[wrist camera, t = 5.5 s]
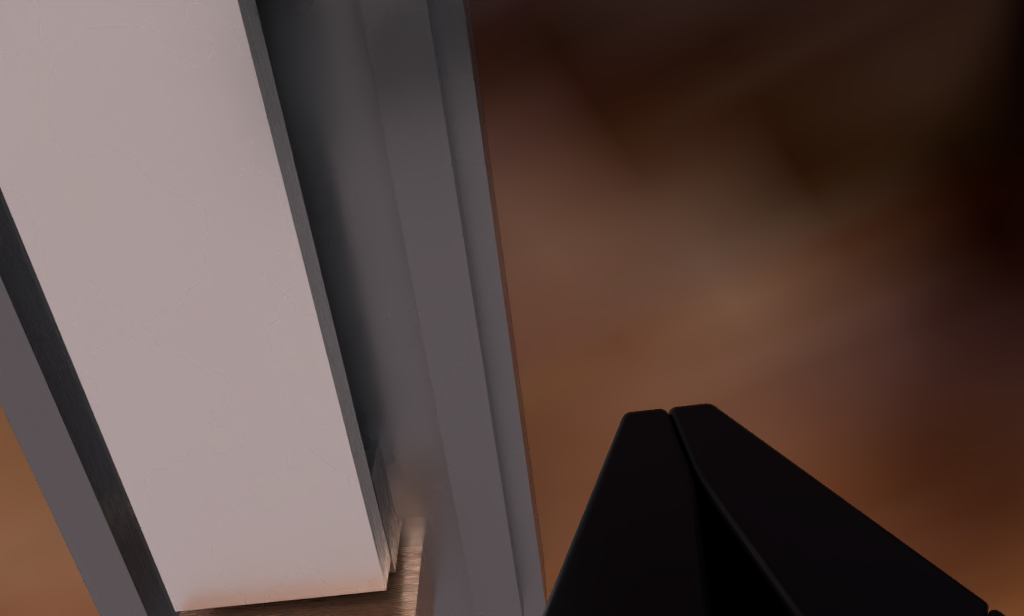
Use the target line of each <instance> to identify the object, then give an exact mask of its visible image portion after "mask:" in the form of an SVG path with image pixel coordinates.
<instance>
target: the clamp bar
mask: <svg viewBox="0 0 1024 616" xmlns="http://www.w3.org/2000/svg"><path fill="white" fill-rule="evenodd" d="M0 188H1V190H2V193H3V195H4V198H5V200H6V202H7V205H8V207H9V210H10V212H11V215H12V217H13V219H14V222H15V224H16V227H17V229H18V232H19V234H20V236H21V239H22V241H23V244H24V246H25V248H26V251H27V253H28V256H29V258H30V261H31V263H32V265H33V268H34V270H35V273H36V275H37V278H38V280H39V282H40V285H41V287H42V290H43V292H44V295H45V297H46V299H47V302H48V304H49V307H50V309H51V311H52V314H53V316H54V319H55V321H56V324H57V326H58V328H59V331H60V333H61V336H62V338H63V341H64V343H65V345H66V348H67V350H68V353H69V355H70V358H71V360H72V362H73V365H74V367H75V370H76V372H77V374H78V377H79V379H80V382H81V384H82V387H83V389H84V391H85V394H86V396H87V399H88V401H89V404H90V406H91V408H92V411H93V413H94V416H95V418H96V421H97V423H98V425H99V428H100V430H101V433H102V435H103V437H104V440H105V442H106V445H107V447H108V450H109V452H110V454H111V457H112V459H113V462H114V464H115V467H116V469H117V471H118V474H119V476H120V479H121V481H122V484H123V486H124V488H125V491H126V493H127V496H128V498H129V500H130V503H131V505H132V508H133V510H134V513H135V515H136V517H137V520H138V522H139V525H140V527H141V530H142V532H143V534H144V537H145V539H146V542H147V544H148V547H149V549H150V551H151V554H152V556H153V559H154V561H155V564H156V566H157V568H158V571H159V573H160V576H161V578H162V580H163V583H164V585H165V588H166V590H167V593H168V595H169V597H170V600H171V602H172V605H173V607H174V610H175V612H177V611H187V610H197V609H206V608H216V607H226V606H236V605H246V604H256V603H265V602H275V601H285V600H295V599H305V598H315V597H324V596H334V595H344V594H354V593H364V592H374V591H383V590H386V588H387V581H388V575H389V568H390V561H391V558H390V554H389V550H388V546H387V541H386V537H385V533H384V529H383V525H382V521H381V517H380V513H379V509H378V504H377V500H376V496H375V492H374V488H373V484H372V480H371V476H370V472H369V467H368V463H367V459H366V455H365V451H364V447H363V443H362V439H361V435H360V430H359V426H358V422H357V418H356V414H355V410H354V406H353V402H352V397H351V393H350V389H349V385H348V381H347V377H346V373H345V369H344V365H343V360H342V356H341V352H340V348H339V344H338V340H337V336H336V332H335V328H334V323H333V319H332V315H331V311H330V307H329V303H328V299H327V295H326V291H325V286H324V282H323V278H322V274H321V270H320V266H319V262H318V258H317V254H316V249H315V245H314V241H313V237H312V233H311V229H310V225H309V221H308V216H307V212H306V208H305V204H304V200H303V196H302V192H301V188H300V184H299V179H298V175H297V171H296V167H295V163H294V159H293V155H292V151H291V147H290V142H289V138H288V134H287V130H286V126H285V122H284V118H283V114H282V110H281V105H280V101H279V97H278V93H277V89H276V85H275V81H274V77H273V72H272V68H271V64H270V60H269V56H268V52H267V48H266V44H265V40H264V35H263V31H262V27H261V23H260V19H259V15H258V11H257V7H256V3H255V0H0Z"/></svg>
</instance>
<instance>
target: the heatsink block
mask: <svg viewBox="0 0 1024 616" xmlns="http://www.w3.org/2000/svg"><path fill="white" fill-rule="evenodd" d="M255 3H256V7H257V11H258V15H259V19H260V23H261V27H262V31H263V35H264V40H265V44H266V48H267V52H268V56H269V60H270V64H271V68H272V72H273V77H274V81H275V85H276V89H277V93H278V97H279V101H280V105H281V110H282V114H283V118H284V122H285V126H286V130H287V134H288V138H289V142H290V147H291V151H292V155H293V159H294V163H295V167H296V171H297V175H298V179H299V184H300V188H301V192H302V196H303V200H304V204H305V208H306V212H307V216H308V221H309V225H310V229H311V233H312V237H313V241H314V245H315V249H316V254H317V258H318V262H319V266H320V270H321V274H322V278H323V282H324V286H325V291H326V295H327V299H328V303H329V307H330V311H331V315H332V319H333V323H334V328H335V332H336V336H337V340H338V344H339V348H340V352H341V356H342V360H343V365H344V369H345V373H346V377H347V381H348V385H349V389H350V393H351V397H352V402H353V406H354V410H355V414H356V418H357V422H358V426H359V430H360V435H361V439H362V443H363V447H364V451H365V455H366V459H367V463H368V467H369V472H370V476H371V480H372V484H373V488H374V492H375V496H376V500H377V504H378V509H379V513H380V517H381V521H382V525H383V529H384V533H385V537H386V541H387V546H388V550H389V554H390V558H391V561H390V568H389V575H388V581H387V588H386V590H383V591H374V592H364V593H354V594H344V595H334V596H324V597H315V598H305V599H295V600H285V601H275V602H265V603H256V604H246V605H236V606H226V607H216V608H206V609H197V610H187V611H177V612H175V610H174V607H173V605H172V602H171V600H170V597H169V595H168V593H167V590H166V588H165V585H164V583H163V580H162V578H161V576H160V573H159V571H158V568H157V566H156V564H155V561H154V559H153V556H152V554H151V551H150V549H149V547H148V544H147V542H146V539H145V537H144V534H143V532H142V530H141V527H140V525H139V522H138V520H137V517H136V515H135V513H134V510H133V508H132V505H131V503H130V500H129V498H128V496H127V493H126V491H125V488H124V486H123V484H122V481H121V479H120V476H119V474H118V471H117V469H116V467H115V464H114V462H113V459H112V457H111V454H110V452H109V450H108V447H107V445H106V442H105V440H104V437H103V435H102V433H101V430H100V428H99V425H98V423H97V421H96V418H95V416H94V413H93V411H92V408H91V406H90V404H89V401H88V399H87V396H86V394H85V391H84V389H83V387H82V384H81V382H80V379H79V377H78V374H77V372H76V370H75V367H74V365H73V362H72V360H71V358H70V355H69V353H68V350H67V348H66V345H65V343H64V341H63V338H62V336H61V333H60V331H59V328H58V326H57V324H56V321H55V319H54V316H53V314H52V311H51V309H50V307H49V304H48V302H47V299H46V297H45V295H44V292H43V290H42V287H41V285H40V282H39V280H38V278H37V275H36V273H35V270H34V268H33V265H32V263H31V261H30V258H29V256H28V253H27V251H26V248H25V246H24V244H23V241H22V239H21V236H20V234H19V232H18V229H17V227H16V224H15V222H14V219H13V217H12V215H11V212H10V210H9V207H8V205H7V202H6V200H5V198H4V195H3V193H2V190H1V188H0V403H1V406H2V408H3V410H4V412H5V414H6V416H7V418H8V420H9V423H10V425H11V427H12V429H13V431H14V433H15V435H16V438H17V440H18V442H19V444H20V446H21V448H22V450H23V452H24V455H25V457H26V459H27V461H28V463H29V465H30V467H31V470H32V472H33V474H34V476H35V478H36V480H37V482H38V484H39V487H40V489H41V491H42V493H43V495H44V497H45V499H46V502H47V504H48V506H49V508H50V510H51V512H52V514H53V516H54V519H55V521H56V523H57V525H58V527H59V529H60V531H61V534H62V536H63V538H64V540H65V542H66V544H67V546H68V548H69V551H70V553H71V555H72V557H73V559H74V561H75V563H76V565H77V568H78V570H79V572H80V574H81V576H82V578H83V580H84V583H85V585H86V587H87V589H88V591H89V593H90V595H91V597H92V600H93V602H94V604H95V606H96V608H97V610H98V612H99V615H100V616H542V615H543V612H544V610H545V607H546V605H547V596H546V582H545V568H544V559H543V551H542V544H541V536H540V529H539V521H538V514H537V506H536V499H535V492H534V484H533V477H532V469H531V462H530V454H529V447H528V439H527V432H526V424H525V417H524V409H523V402H522V394H521V387H520V379H519V372H518V364H517V357H516V349H515V342H514V335H513V327H512V320H511V312H510V305H509V297H508V290H507V282H506V275H505V267H504V260H503V252H502V245H501V237H500V230H499V222H498V215H497V207H496V200H495V192H494V185H493V178H492V170H491V163H490V155H489V148H488V140H487V133H486V125H485V118H484V110H483V103H482V95H481V88H480V80H479V73H478V65H477V58H476V50H475V43H474V35H473V28H472V21H471V13H470V6H469V0H255Z"/></svg>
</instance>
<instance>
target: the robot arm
mask: <svg viewBox="0 0 1024 616" xmlns="http://www.w3.org/2000/svg"><path fill="white" fill-rule="evenodd" d="M988 612H989V606H988V604H987V603H986V602H985V601H984V600H982V599H981V598H979V597H978V596H977V595H975V594H974V593H973V592H971V591H970V590H968V589H967V588H966V587H964V586H963V585H961V584H960V583H959V582H957V581H956V580H955V579H953V578H952V577H950V576H949V575H948V574H946V573H945V572H944V571H942V570H941V569H939V568H938V567H937V566H935V565H934V564H932V563H931V562H930V561H928V560H927V559H926V558H924V557H923V556H921V555H920V554H919V553H917V552H916V551H914V550H913V549H912V548H910V547H909V546H908V545H906V544H905V543H903V542H902V541H901V540H899V539H898V538H896V537H895V536H894V535H892V534H891V533H890V532H888V531H887V530H885V529H884V528H883V527H881V526H880V525H879V524H877V523H876V522H874V521H873V520H872V519H870V518H869V517H867V516H866V515H865V514H863V513H862V512H861V511H859V510H858V509H856V508H855V507H854V506H852V505H851V504H849V503H848V502H847V501H845V500H844V499H843V498H841V497H840V496H838V495H837V494H836V493H834V492H833V491H832V490H830V489H829V488H827V487H826V486H825V485H823V484H822V483H820V482H819V481H818V480H816V479H815V478H814V477H812V476H811V475H809V474H808V473H807V472H805V471H804V470H802V469H801V468H800V467H798V466H797V465H796V464H794V463H793V462H791V461H790V460H789V459H787V458H786V457H784V456H783V455H782V454H780V453H779V452H778V451H776V450H775V449H773V448H772V447H771V446H769V445H768V444H767V443H765V442H764V441H762V440H761V439H760V438H758V437H757V436H755V435H754V434H753V433H751V432H750V431H749V430H747V429H746V428H744V427H743V426H742V425H740V424H739V423H737V422H736V421H735V420H733V419H732V418H731V417H729V416H728V415H726V414H725V413H724V412H722V411H721V410H719V409H718V408H717V407H715V406H714V405H711V404H698V405H689V406H681V407H674V408H672V409H671V410H670V411H669V414H668V413H667V412H666V411H665V410H663V409H654V410H645V411H636V412H629V413H626V414H625V415H624V416H623V418H622V420H621V422H620V425H619V427H618V430H617V432H616V435H615V437H614V440H613V442H612V445H611V447H610V450H609V452H608V454H607V457H606V459H605V462H604V464H603V467H602V469H601V472H600V474H599V477H598V479H597V482H596V484H595V487H594V489H593V491H592V494H591V496H590V499H589V501H588V504H587V506H586V509H585V511H584V514H583V516H582V519H581V521H580V524H579V526H578V528H577V531H576V533H575V536H574V538H573V541H572V543H571V546H570V548H569V551H568V553H567V556H566V558H565V561H564V563H563V566H562V568H561V570H560V573H559V575H558V578H557V580H556V583H555V585H554V588H553V590H552V593H551V595H550V598H549V600H548V603H547V605H546V607H545V610H544V612H543V615H542V616H1005V615H1004V614H1002V613H1001V612H999V611H997V610H991V611H990V612H989V614H988Z"/></svg>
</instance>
